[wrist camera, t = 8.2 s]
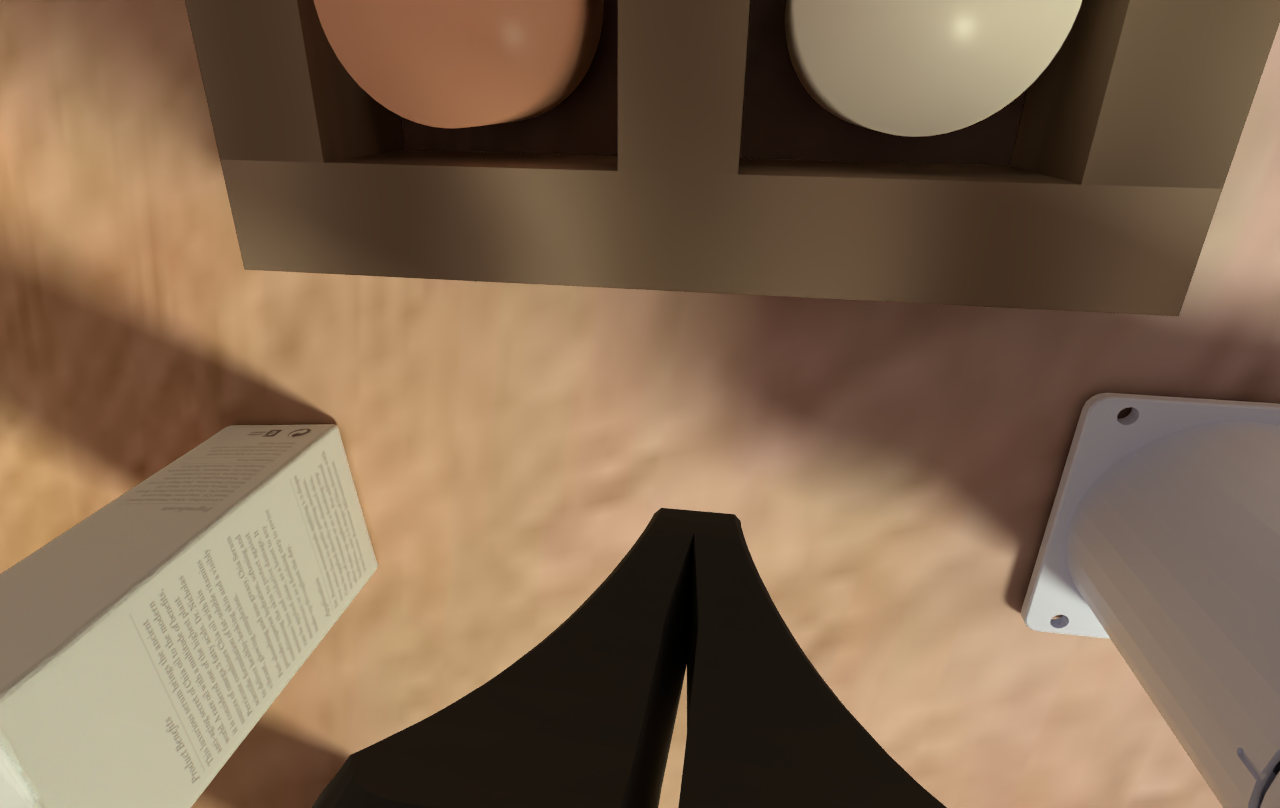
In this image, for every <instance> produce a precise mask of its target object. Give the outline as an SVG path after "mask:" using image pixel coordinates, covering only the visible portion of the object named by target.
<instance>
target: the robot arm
mask: <svg viewBox="0 0 1280 808" xmlns="http://www.w3.org/2000/svg"><path fill="white" fill-rule="evenodd" d="M1128 407H1132V409H1131V412H1130V414H1129V415H1128V416H1126V417H1125V418H1122V419H1117V415H1118V414H1119V412H1120V411H1121V410H1123V409H1124V408H1128ZM1056 615H1062V617H1060V618H1058V619H1053V620H1052V618H1053V617H1054V616H1056ZM1021 616H1022V618H1023V620H1024V622H1025V624H1026V626H1027V627H1029V628H1030V629H1031V630H1035V631H1040V632H1049V633H1059V634H1069V635H1078V636H1088V637H1098V638H1107V639H1111V640H1112V642H1113V643H1114V645H1115V646H1116V648H1117V649H1118V651H1119V652H1120V654H1121V655H1122V657H1123V658H1124V660H1125V661H1126V663H1127V664H1128V666H1129V667H1130V669H1131V670H1132V672H1133V673H1134V675H1135V676H1136V678H1137V679H1138V681H1139V682H1140V684H1141V685H1142V687H1143V688H1144V690H1145V691H1146V693H1147V694H1148V696H1149V697H1150V699H1151V700H1152V702H1153V703H1154V705H1155V706H1156V708H1157V709H1158V711H1159V712H1160V714H1161V715H1162V717H1163V718H1164V720H1165V721H1166V723H1167V724H1168V726H1169V727H1170V728H1171V730H1172V731H1173V733H1174V734H1175V736H1176V737H1177V739H1178V740H1179V742H1180V743H1181V745H1182V746H1183V748H1184V749H1185V751H1186V752H1187V754H1188V755H1189V757H1190V758H1191V760H1192V761H1193V763H1194V764H1195V766H1196V767H1197V769H1198V770H1199V772H1200V773H1201V775H1202V776H1203V778H1204V779H1205V781H1206V782H1207V784H1208V785H1209V787H1210V788H1211V790H1212V791H1213V793H1214V794H1215V796H1216V797H1217V799H1218V800H1219V802H1220V803H1221V805H1222V806H1223V808H1280V404H1278V403H1262V402H1246V401H1231V400H1215V399H1199V398H1183V397H1167V396H1151V395H1136V394H1120V393H1100V394H1097V395H1095V396H1092V397H1091V398H1090V399H1089V400H1088V401H1086V403H1085V404H1084V406H1083V408H1082V411H1081V415H1080V418H1079V421H1078V424H1077V428H1076V431H1075V434H1074V438H1073V441H1072V444H1071V448H1070V451H1069V454H1068V458H1067V461H1066V464H1065V467H1064V471H1063V474H1062V477H1061V481H1060V484H1059V487H1058V491H1057V494H1056V497H1055V501H1054V504H1053V507H1052V511H1051V514H1050V517H1049V520H1048V524H1047V527H1046V530H1045V534H1044V537H1043V540H1042V544H1041V547H1040V550H1039V554H1038V557H1037V560H1036V563H1035V567H1034V570H1033V573H1032V577H1031V580H1030V583H1029V587H1028V590H1027V593H1026V597H1025V600H1024V603H1023V606H1022V610H1021ZM686 665H687V740H686V749H685V758H684V766H683V775H682V783H681V792H680V800H679V808H946V807H945V806H944V805H943V804H942V803H940V802H939V801H938V800H937V799H936V798H935V797H933V796H932V795H931V794H930V793H929V792H927V791H926V790H925V789H924V788H923V787H922V786H921V785H920V784H918V783H917V782H916V781H915V780H914V779H913V778H912V777H911V776H910V775H909V774H908V773H907V772H906V771H905V770H904V769H903V768H902V767H901V766H900V765H899V764H897V763H896V762H895V761H894V760H893V759H892V758H891V757H890V756H889V755H888V754H887V753H886V752H885V750H884V749H883V748H882V747H881V746H880V745H879V744H878V743H877V742H876V741H875V740H874V738H873V737H872V736H871V735H870V734H869V733H868V732H867V731H866V730H865V729H864V727H863V726H862V725H861V724H860V723H859V722H858V721H857V720H856V719H855V718H854V716H853V715H852V714H851V713H850V712H849V711H848V710H847V709H846V708H845V706H844V705H843V704H842V703H841V701H840V700H839V699H838V698H837V696H836V695H835V694H834V693H833V691H832V690H831V689H830V688H829V686H828V685H827V684H826V683H825V681H824V680H823V679H822V677H821V676H820V675H819V673H818V672H817V670H816V669H815V668H814V666H813V665H812V664H811V662H810V661H809V659H808V658H807V657H806V655H805V654H804V652H803V651H802V649H801V648H800V646H799V645H798V643H797V642H796V640H795V639H794V637H793V635H792V634H791V632H790V630H789V629H788V627H787V625H786V624H785V622H784V620H783V619H782V617H781V615H780V614H779V612H778V610H777V608H776V607H775V605H774V603H773V601H772V599H771V597H770V595H769V593H768V591H767V589H766V587H765V585H764V583H763V581H762V579H761V577H760V575H759V573H758V571H757V569H756V567H755V564H754V562H753V560H752V557H751V555H750V552H749V550H748V547H747V544H746V541H745V538H744V535H743V532H742V528H741V522H740V520H739V519H738V518H737V517H736V516H735V515H734V514H723V513H712V512H701V511H690V510H678V509H667V508H661V509H660V510H658V511H657V512H656V513H655V514H654V515H653V517H652V519H651V521H650V522H649V524H648V525H647V527H646V529H645V530H644V532H643V533H642V534H641V536H640V537H639V539H638V540H637V541H636V543H635V544H634V545H633V547H632V548H631V550H630V551H629V552H628V553H627V555H626V556H625V557H624V558H623V559H622V561H621V562H620V563H619V564H618V566H617V567H616V568H615V569H614V570H613V572H612V573H611V574H610V575H609V576H608V578H607V579H606V580H605V581H604V582H603V583H602V584H601V585H600V586H599V587H598V588H597V589H596V591H595V592H594V593H593V594H592V595H591V596H590V597H589V598H588V599H587V600H586V601H585V602H584V603H583V604H582V605H581V606H580V607H579V608H578V609H577V610H576V611H575V612H574V613H573V614H572V615H571V616H570V617H569V618H568V619H567V620H566V621H565V622H564V623H563V624H561V625H560V626H559V627H558V628H557V629H556V630H555V631H554V632H552V633H551V634H550V635H549V636H548V637H547V638H545V639H544V640H543V641H542V642H541V643H539V644H538V645H537V646H536V647H534V648H533V649H532V650H531V651H529V652H528V653H527V654H525V655H524V656H523V657H521V658H520V659H519V660H517V661H516V662H515V663H514V664H512V665H511V666H510V667H508V668H507V669H506V670H504V671H503V672H501V673H500V674H498V675H497V676H496V677H494V678H493V679H491V680H490V681H488V682H487V683H485V684H484V685H482V686H481V687H479V688H477V689H476V690H474V691H472V692H471V693H469V694H468V695H466V696H464V697H463V698H461V699H459V700H458V701H456V702H454V703H453V704H451V705H449V706H448V707H446V708H444V709H442V710H441V711H439V712H437V713H435V714H433V715H432V716H430V717H428V718H426V719H424V720H422V721H420V722H418V723H416V724H414V725H412V726H410V727H408V728H406V729H404V730H402V731H400V732H398V733H396V734H394V735H392V736H390V737H388V738H386V739H384V740H382V741H379V742H377V743H375V744H373V745H371V746H369V747H367V748H365V749H363V750H360V751H358V752H356V753H354V754H352V755H350V756H349V757H348V759H347V760H346V762H345V763H344V765H343V766H342V767H341V769H340V770H339V772H338V773H337V774H336V775H335V777H334V778H333V779H332V780H331V782H330V783H329V784H328V785H327V787H326V788H325V789H324V791H323V792H322V794H321V795H320V796H319V798H318V799H317V801H316V802H315V804H314V805H313V806H312V808H658V805H659V799H660V793H661V787H662V782H663V777H664V772H665V768H666V763H667V758H668V753H669V748H670V743H671V738H672V734H673V729H674V724H675V719H676V714H677V709H678V705H679V700H680V695H681V690H682V685H683V680H684V675H685V670H686Z"/></svg>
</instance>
